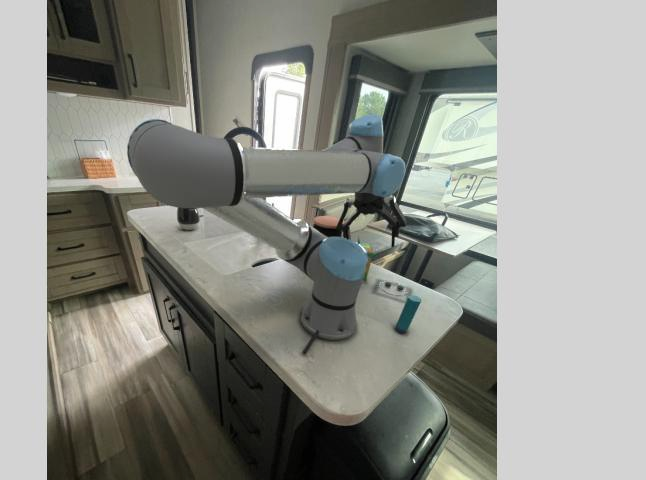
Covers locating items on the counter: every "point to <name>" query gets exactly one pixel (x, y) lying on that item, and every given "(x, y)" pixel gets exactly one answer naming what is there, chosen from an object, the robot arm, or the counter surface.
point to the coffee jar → (327, 226)
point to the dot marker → (408, 313)
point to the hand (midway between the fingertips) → (370, 244)
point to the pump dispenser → (188, 218)
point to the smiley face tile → (392, 294)
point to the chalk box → (369, 254)
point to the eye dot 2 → (400, 287)
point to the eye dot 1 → (388, 284)
